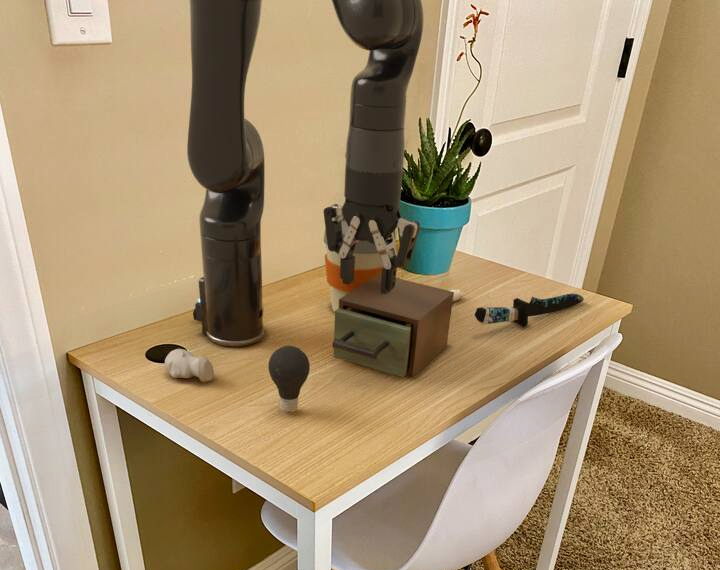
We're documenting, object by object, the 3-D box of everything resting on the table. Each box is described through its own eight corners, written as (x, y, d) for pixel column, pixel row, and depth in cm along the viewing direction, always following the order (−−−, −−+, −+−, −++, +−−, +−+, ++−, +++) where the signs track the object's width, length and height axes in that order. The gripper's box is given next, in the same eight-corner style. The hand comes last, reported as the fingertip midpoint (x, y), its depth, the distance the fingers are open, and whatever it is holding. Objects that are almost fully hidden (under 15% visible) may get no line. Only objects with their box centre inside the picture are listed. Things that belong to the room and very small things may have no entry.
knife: (475, 334, 128) (481, 309, 125) (463, 327, 130) (469, 302, 127) (589, 317, 145) (597, 295, 142) (577, 311, 147) (585, 289, 144)
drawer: (387, 391, 111) (391, 343, 106) (315, 369, 115) (316, 322, 111) (436, 347, 124) (441, 302, 119) (370, 329, 128) (372, 285, 124)
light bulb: (271, 400, 108) (271, 337, 103) (310, 403, 108) (311, 339, 103) (266, 420, 104) (265, 355, 98) (306, 423, 104) (308, 358, 98)
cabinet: (412, 378, 116) (418, 320, 111) (336, 355, 121) (338, 299, 116) (446, 346, 126) (454, 291, 121) (375, 326, 131) (379, 273, 126)
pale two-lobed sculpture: (161, 380, 114) (184, 360, 116) (199, 396, 110) (221, 375, 113) (151, 358, 111) (175, 338, 113) (189, 374, 107) (213, 353, 109)
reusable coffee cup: (392, 298, 142) (399, 217, 133) (387, 325, 132) (394, 240, 123) (327, 292, 143) (329, 211, 134) (317, 318, 133) (318, 233, 124)
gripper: (436, 166, 98) (423, 290, 108) (340, 149, 103) (336, 269, 113) (411, 178, 92) (400, 307, 102) (312, 159, 97) (310, 284, 107)
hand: (366, 287), depth 107 cm, fingers open, 5 cm apart
